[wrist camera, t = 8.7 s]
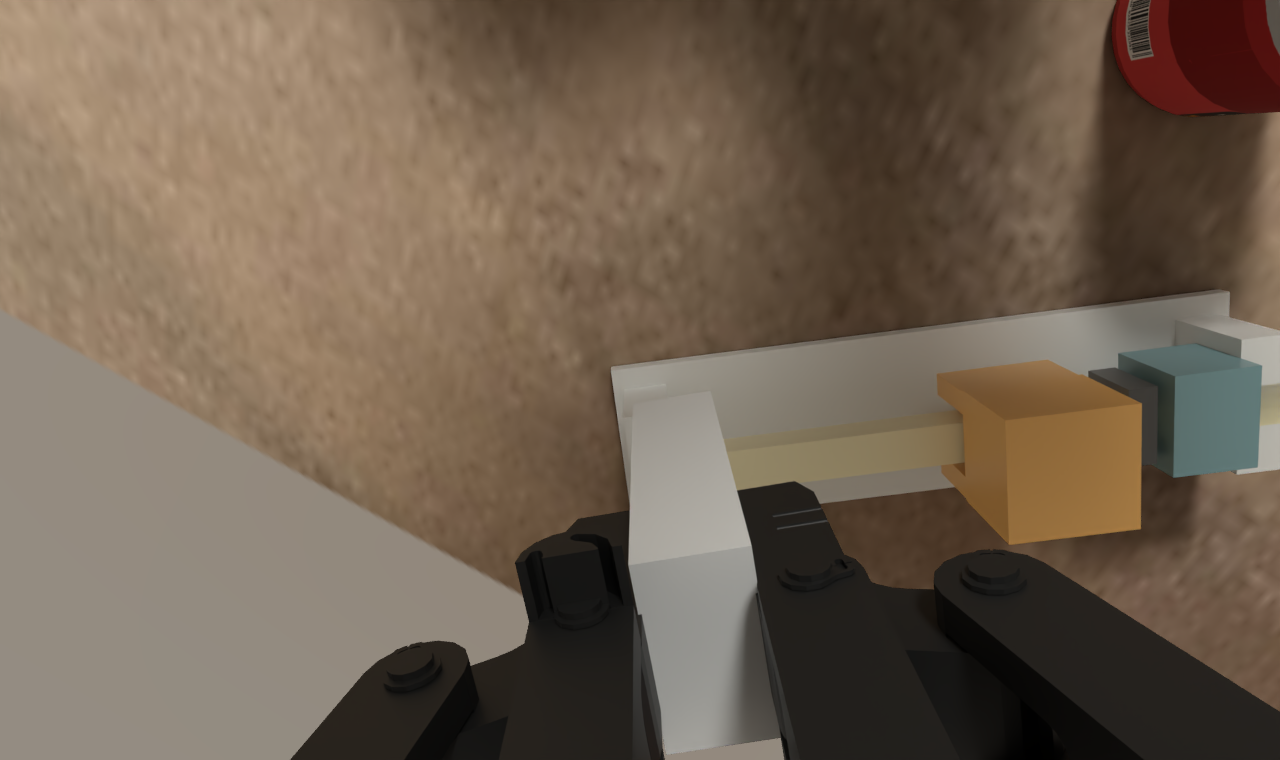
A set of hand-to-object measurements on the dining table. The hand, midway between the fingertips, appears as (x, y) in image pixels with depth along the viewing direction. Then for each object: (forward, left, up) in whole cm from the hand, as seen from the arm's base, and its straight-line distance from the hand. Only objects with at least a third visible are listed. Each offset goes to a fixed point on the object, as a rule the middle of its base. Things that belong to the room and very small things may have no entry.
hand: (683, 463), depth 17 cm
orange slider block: (+8, +15, -23) cm, 28 cm away
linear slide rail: (+8, +12, -26) cm, 29 cm away
